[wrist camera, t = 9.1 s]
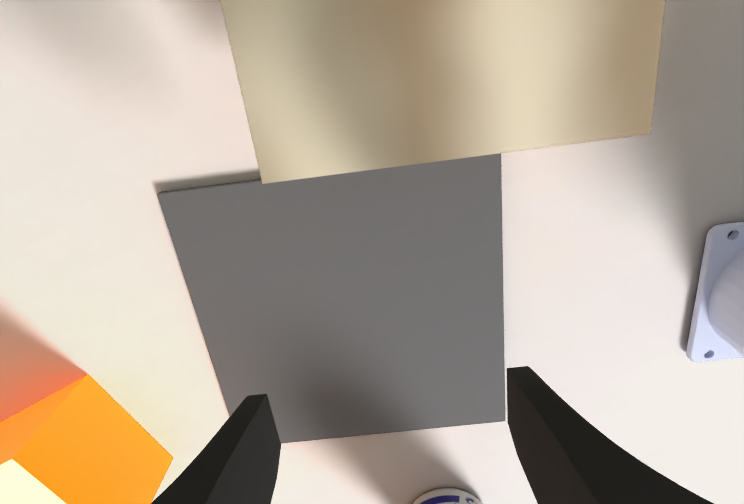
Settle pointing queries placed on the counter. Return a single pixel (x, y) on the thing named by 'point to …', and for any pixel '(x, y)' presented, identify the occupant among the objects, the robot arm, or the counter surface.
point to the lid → (437, 78)
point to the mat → (352, 295)
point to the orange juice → (78, 451)
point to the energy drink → (447, 497)
